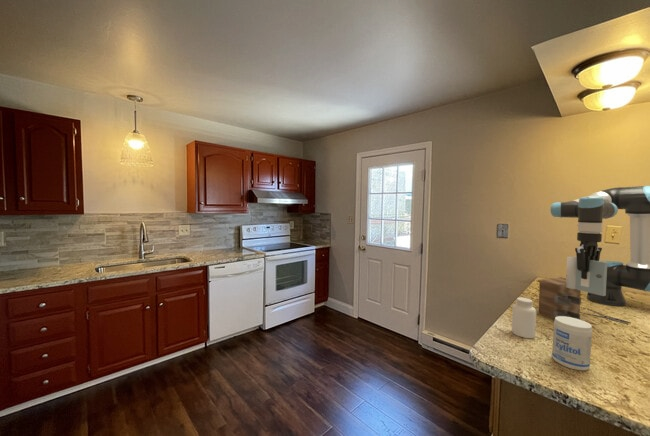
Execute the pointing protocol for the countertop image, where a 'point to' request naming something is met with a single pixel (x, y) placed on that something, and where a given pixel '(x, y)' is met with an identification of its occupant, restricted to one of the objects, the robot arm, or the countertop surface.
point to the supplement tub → (572, 342)
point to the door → (596, 276)
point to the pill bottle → (524, 318)
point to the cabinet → (558, 299)
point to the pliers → (607, 317)
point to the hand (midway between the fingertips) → (586, 285)
